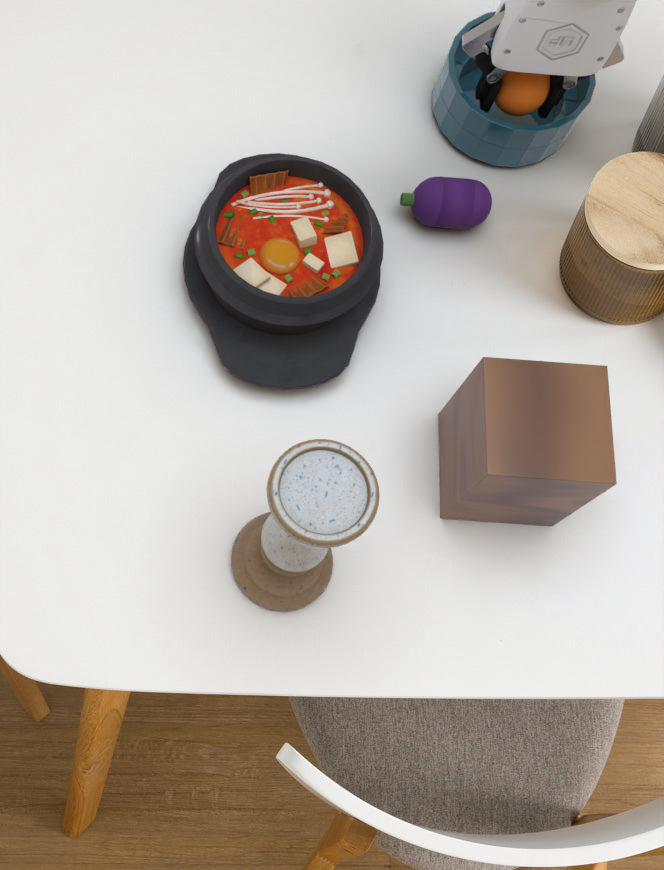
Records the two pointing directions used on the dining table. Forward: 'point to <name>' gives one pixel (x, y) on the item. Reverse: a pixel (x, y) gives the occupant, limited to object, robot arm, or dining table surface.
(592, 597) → the dining table surface
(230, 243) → the casserole
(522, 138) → the bowl
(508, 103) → the toy orange
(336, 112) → the dining table surface
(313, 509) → the candle holder
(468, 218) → the toy eggplant
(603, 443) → the cube
